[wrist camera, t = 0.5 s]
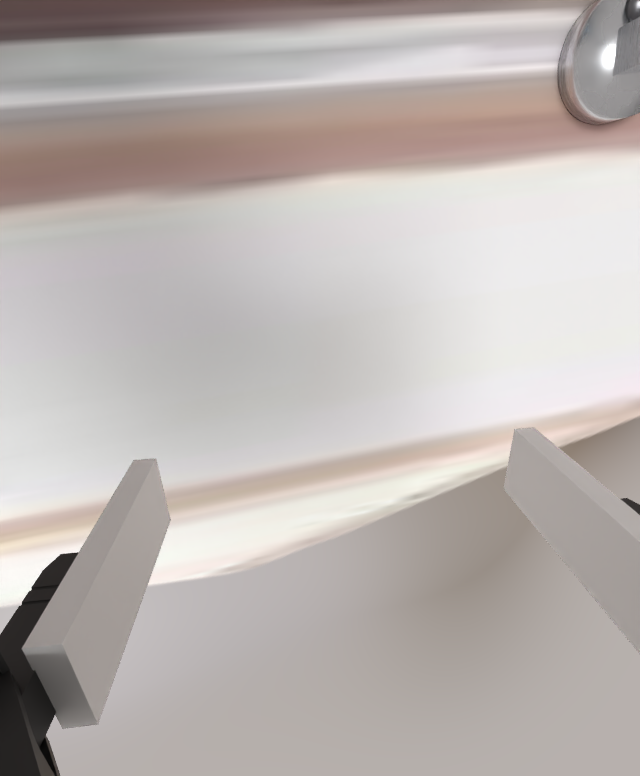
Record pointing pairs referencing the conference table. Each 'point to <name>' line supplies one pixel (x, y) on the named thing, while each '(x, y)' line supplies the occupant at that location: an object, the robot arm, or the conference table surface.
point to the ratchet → (602, 63)
